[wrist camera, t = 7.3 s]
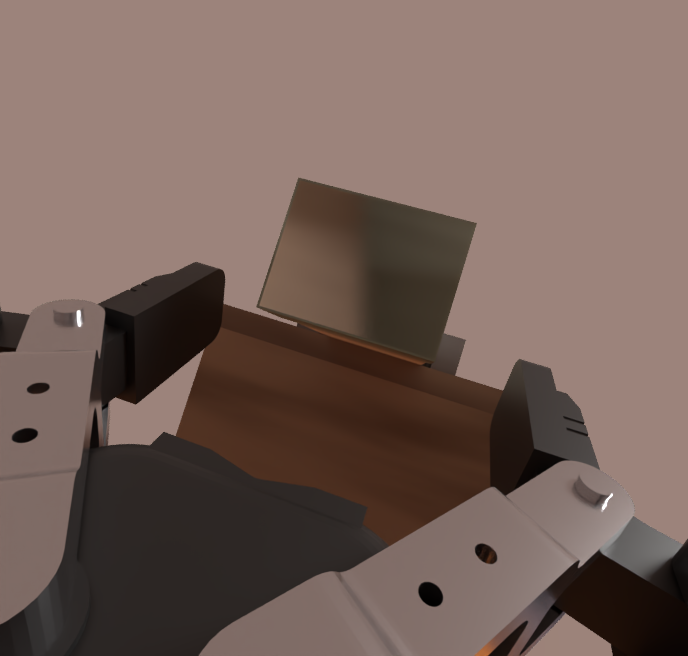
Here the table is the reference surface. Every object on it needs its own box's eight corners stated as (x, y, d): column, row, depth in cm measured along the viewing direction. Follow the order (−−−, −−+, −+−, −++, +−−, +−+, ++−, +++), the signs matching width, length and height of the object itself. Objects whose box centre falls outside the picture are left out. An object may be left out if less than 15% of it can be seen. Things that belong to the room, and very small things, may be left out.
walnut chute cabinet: (293, 1278, 16) (557, 367, 18) (-31, 1062, 18) (230, 269, 20) (353, 804, 34) (482, 369, 36) (184, 723, 36) (313, 317, 38)
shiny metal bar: (434, 362, 10) (476, 223, 10) (256, 307, 10) (298, 177, 10) (415, 369, 33) (427, 328, 34) (361, 352, 34) (374, 312, 34)
